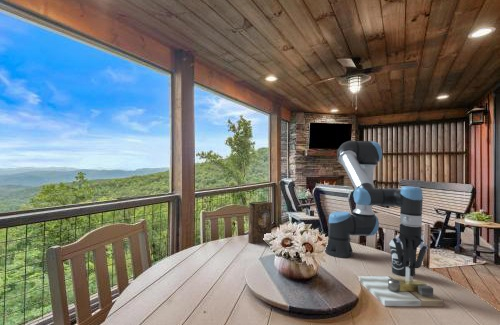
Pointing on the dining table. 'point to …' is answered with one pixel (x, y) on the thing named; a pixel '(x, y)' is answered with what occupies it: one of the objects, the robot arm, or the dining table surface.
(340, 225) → the robot arm
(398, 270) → the coffee cup
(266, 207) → the book
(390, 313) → the dining table surface
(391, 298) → the door board
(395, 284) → the latch bar
